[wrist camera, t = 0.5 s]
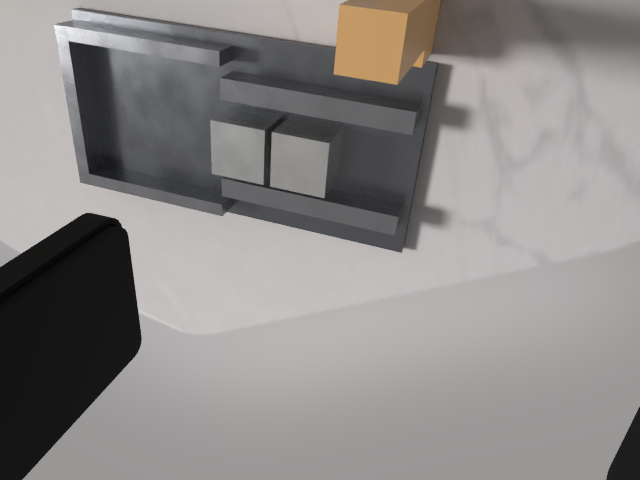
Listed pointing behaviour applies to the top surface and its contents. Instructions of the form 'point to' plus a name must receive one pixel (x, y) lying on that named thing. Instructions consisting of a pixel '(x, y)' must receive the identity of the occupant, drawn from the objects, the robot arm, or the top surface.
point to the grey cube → (306, 156)
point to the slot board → (242, 91)
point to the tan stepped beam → (384, 38)
